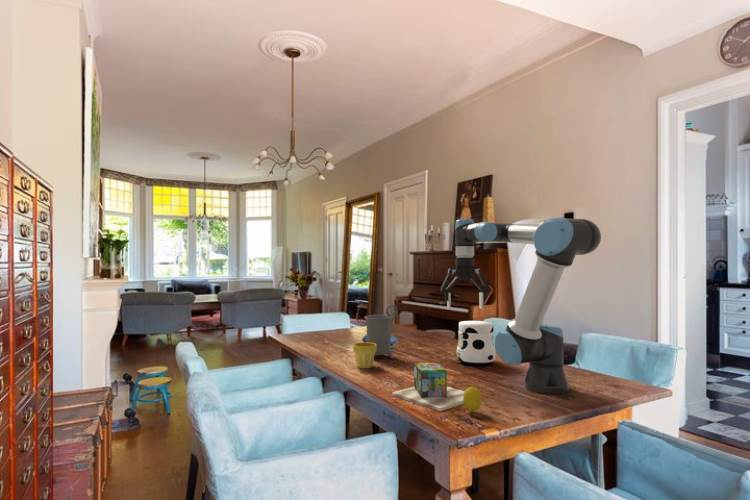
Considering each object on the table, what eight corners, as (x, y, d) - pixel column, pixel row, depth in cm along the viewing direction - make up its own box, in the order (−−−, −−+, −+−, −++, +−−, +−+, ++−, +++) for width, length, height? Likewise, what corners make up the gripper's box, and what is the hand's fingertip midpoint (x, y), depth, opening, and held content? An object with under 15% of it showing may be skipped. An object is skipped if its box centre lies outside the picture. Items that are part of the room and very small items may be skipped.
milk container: (502, 362, 209) (501, 322, 209) (484, 369, 195) (484, 326, 196) (468, 357, 220) (467, 319, 220) (449, 363, 206) (449, 323, 207)
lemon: (473, 416, 137) (473, 389, 138) (459, 411, 142) (459, 385, 142) (485, 412, 141) (485, 386, 141) (471, 408, 145) (471, 382, 145)
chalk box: (438, 387, 165) (450, 400, 150) (413, 388, 164) (423, 402, 149) (438, 361, 165) (450, 372, 150) (413, 362, 164) (423, 373, 149)
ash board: (479, 398, 155) (479, 395, 155) (440, 411, 142) (440, 408, 142) (431, 384, 172) (431, 382, 172) (392, 395, 159) (392, 392, 159)
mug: (369, 361, 210) (369, 307, 210) (356, 355, 223) (356, 304, 224) (405, 358, 218) (404, 305, 218) (390, 352, 231) (390, 302, 232)
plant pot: (377, 363, 206) (377, 342, 206) (375, 369, 196) (375, 346, 196) (354, 363, 207) (354, 341, 207) (351, 369, 197) (351, 346, 197)
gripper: (491, 256, 193) (491, 307, 192) (432, 257, 190) (433, 308, 190) (497, 256, 185) (498, 309, 185) (437, 257, 183) (437, 310, 182)
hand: (465, 308), depth 187 cm, fingers open, 13 cm apart
